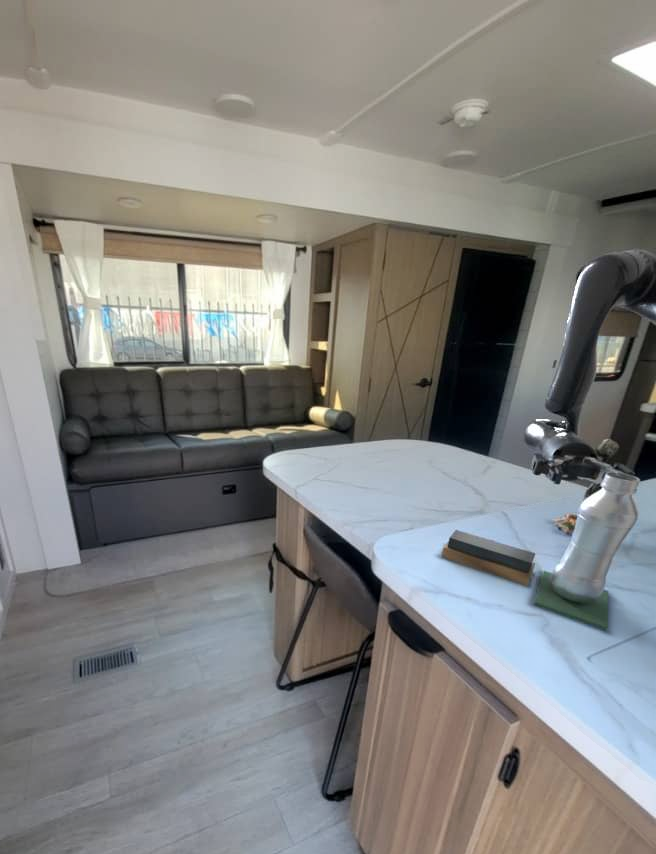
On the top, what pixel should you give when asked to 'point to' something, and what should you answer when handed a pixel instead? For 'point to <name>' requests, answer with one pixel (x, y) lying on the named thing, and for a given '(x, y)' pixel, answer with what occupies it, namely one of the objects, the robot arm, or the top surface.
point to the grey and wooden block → (490, 556)
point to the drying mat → (572, 605)
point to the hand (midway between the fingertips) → (589, 483)
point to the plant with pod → (606, 452)
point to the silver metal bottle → (596, 538)
